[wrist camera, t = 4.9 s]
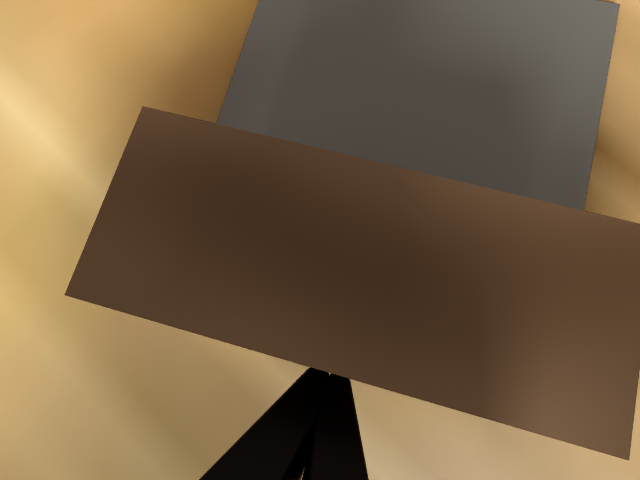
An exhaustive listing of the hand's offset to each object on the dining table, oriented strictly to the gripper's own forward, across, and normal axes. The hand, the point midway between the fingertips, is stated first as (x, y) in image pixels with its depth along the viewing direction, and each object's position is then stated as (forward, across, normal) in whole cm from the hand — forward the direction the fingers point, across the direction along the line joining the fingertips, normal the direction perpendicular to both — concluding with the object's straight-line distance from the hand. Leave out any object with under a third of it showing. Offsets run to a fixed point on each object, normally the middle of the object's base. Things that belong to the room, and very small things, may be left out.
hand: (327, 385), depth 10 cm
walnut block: (+6, 0, +4) cm, 8 cm away
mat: (+13, 0, -2) cm, 13 cm away
